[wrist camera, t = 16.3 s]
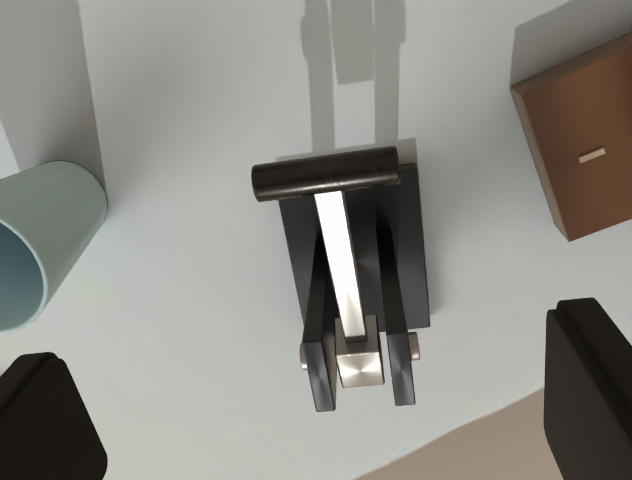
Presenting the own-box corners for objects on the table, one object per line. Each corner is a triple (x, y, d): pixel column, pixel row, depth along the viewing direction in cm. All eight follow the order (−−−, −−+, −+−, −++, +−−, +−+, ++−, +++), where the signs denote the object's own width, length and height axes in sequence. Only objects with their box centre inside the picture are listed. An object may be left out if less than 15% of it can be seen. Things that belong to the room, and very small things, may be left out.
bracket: (277, 180, 35) (242, 277, 24) (415, 162, 34) (447, 254, 23) (307, 329, 40) (290, 468, 29) (428, 317, 39) (460, 457, 28)
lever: (254, 151, 21) (247, 186, 19) (393, 131, 21) (400, 166, 19) (311, 353, 30) (310, 391, 28) (411, 344, 29) (417, 382, 27)
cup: (134, 167, 36) (55, 234, 26) (114, 262, 39) (38, 352, 29) (20, 127, 35) (-102, 182, 25) (10, 227, 38) (-102, 308, 29)
